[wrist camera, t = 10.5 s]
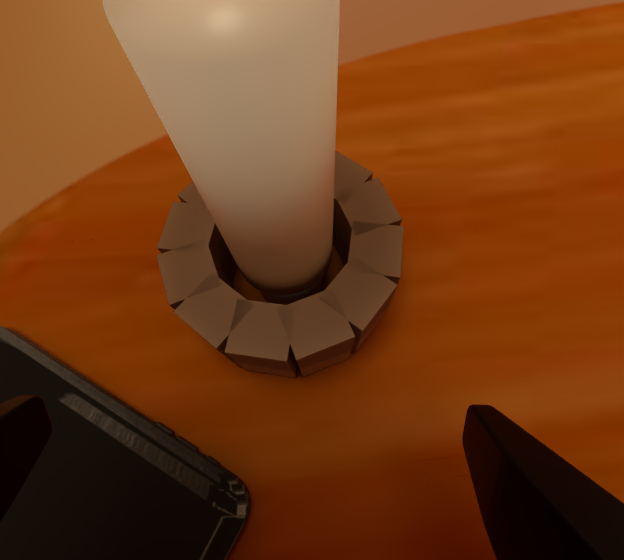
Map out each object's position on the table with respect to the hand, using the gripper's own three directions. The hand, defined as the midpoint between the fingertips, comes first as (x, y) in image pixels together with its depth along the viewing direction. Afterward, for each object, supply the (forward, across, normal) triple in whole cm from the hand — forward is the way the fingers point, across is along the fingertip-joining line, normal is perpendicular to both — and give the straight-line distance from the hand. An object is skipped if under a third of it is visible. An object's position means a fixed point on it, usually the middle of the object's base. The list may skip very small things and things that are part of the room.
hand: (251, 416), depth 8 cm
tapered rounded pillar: (+11, 0, +1) cm, 11 cm away
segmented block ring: (+11, 0, +1) cm, 11 cm away
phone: (+5, +9, +8) cm, 13 cm away
